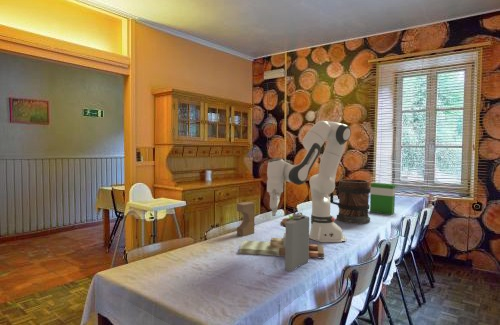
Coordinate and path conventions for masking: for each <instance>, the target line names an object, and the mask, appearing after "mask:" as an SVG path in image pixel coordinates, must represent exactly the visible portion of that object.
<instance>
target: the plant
mask: <svg viewBox="0 0 500 325" xmlns="http://www.w3.org/2000/svg"><path fill="white" fill-rule="evenodd" d="M293 214H301V215H303V213H302V212H297V213H296V208H293V213H292V214H291V215H290V214H288V216H289V217H285V218H282V220H281V221H280V225H281V226H283V227H285V228H286V222H287V221H289V220H291V219H293Z"/></svg>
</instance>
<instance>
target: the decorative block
mask: <svg viewBox="0 0 500 325" xmlns="http://www.w3.org/2000/svg"><path fill="white" fill-rule="evenodd" d="M255 209H256V208H255V202H253V201H246V202H244V201H243V202H239V203H236V211H237V212H239V213H241V214H242V217H243V219H242V221H241V224H240V225H239V226H237V227H236V235H237V236H240V237H246V236H249V235H251V234H252V233H253V234H255ZM248 234H249V235H248Z"/></svg>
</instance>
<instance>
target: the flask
mask: <svg viewBox="0 0 500 325" xmlns="http://www.w3.org/2000/svg"><path fill="white" fill-rule="evenodd" d="M292 214H293V213H292ZM285 233H286V241H285V256H284V258H285V259H284V261H285V262H284V264H285V265H284V270H285V271H286V270H287V272H289V271H290V272H293V271H295V270H296V269H297V268H299V267H300V266H299V265H301V266H302V264H303V265H305V264H307V263H306V262H308V261H309V260H310V257H309V244H310V238H309V234H310V216H306V215H304V214H302V215H301V214H300V213H299V214H297V213H295V214H293V219H291V220H289V221H287V222H286V227H285ZM304 263H305V264H304ZM308 263H309V262H308ZM298 266H299V267H298ZM296 267H297V268H296ZM295 268H296V269H295ZM294 269H295V270H294ZM292 270H293V271H292Z"/></svg>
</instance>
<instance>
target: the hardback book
mask: <svg viewBox="0 0 500 325" xmlns="http://www.w3.org/2000/svg"><path fill="white" fill-rule="evenodd" d="M369 198H370V201H369V212H371V213H377V214H385V215H394V214H395V202H396V201H395V200H396V199H395V198H396V184H395V183H394V184H393V183H383V182H382V183H380V182H373V183H370V195H369Z"/></svg>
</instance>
